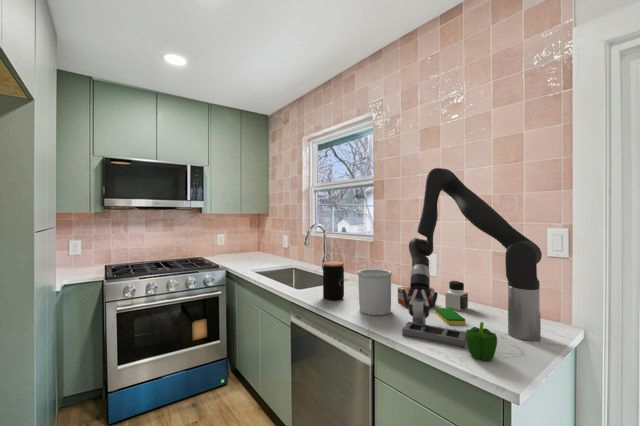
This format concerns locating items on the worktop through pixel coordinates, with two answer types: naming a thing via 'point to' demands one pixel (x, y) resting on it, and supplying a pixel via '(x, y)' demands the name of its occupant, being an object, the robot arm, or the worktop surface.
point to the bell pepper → (481, 343)
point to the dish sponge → (449, 316)
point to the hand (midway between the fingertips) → (418, 315)
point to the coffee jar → (333, 280)
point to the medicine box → (401, 299)
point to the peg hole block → (435, 334)
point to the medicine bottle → (456, 296)
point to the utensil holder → (375, 291)
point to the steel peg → (419, 310)
